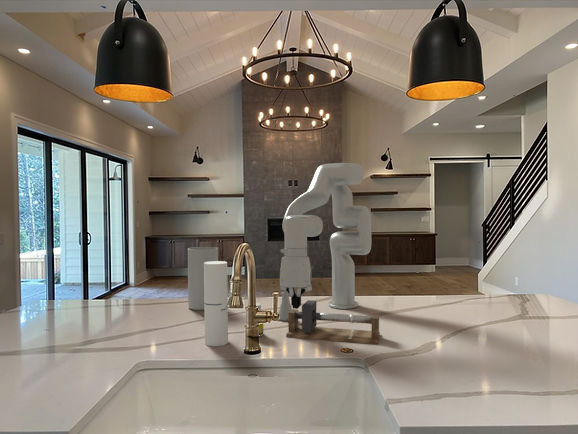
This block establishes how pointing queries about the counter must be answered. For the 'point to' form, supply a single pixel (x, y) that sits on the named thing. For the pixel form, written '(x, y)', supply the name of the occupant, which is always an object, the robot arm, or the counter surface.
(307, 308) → the rubber collar
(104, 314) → the counter surface
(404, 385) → the counter surface
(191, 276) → the cylinder vase
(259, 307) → the supplement bottle
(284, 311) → the flask
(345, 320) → the steel pipe
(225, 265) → the cylindrical container
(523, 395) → the counter surface
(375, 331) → the pipe stand
